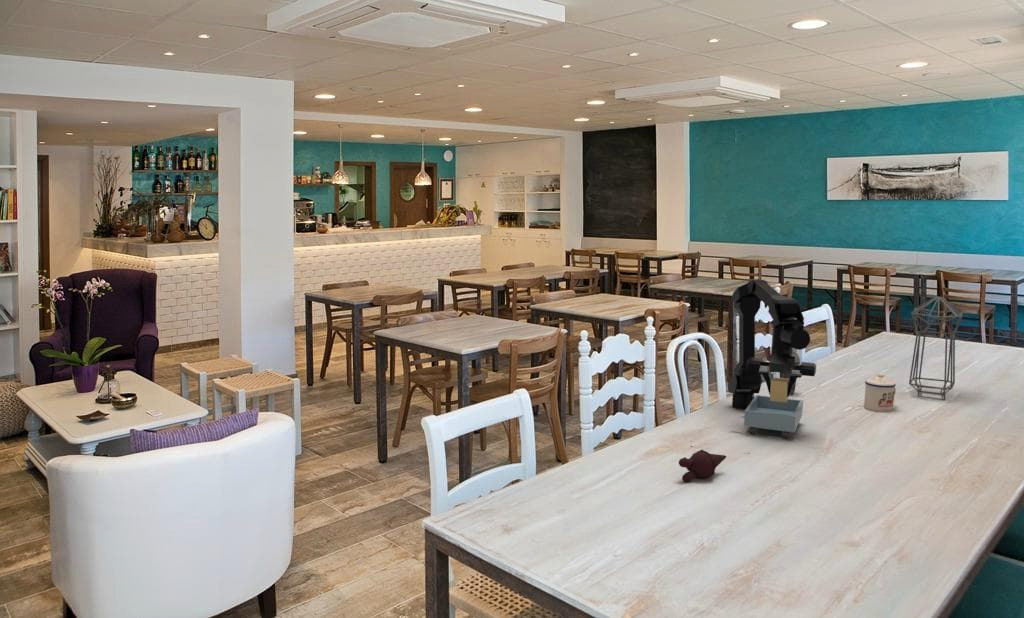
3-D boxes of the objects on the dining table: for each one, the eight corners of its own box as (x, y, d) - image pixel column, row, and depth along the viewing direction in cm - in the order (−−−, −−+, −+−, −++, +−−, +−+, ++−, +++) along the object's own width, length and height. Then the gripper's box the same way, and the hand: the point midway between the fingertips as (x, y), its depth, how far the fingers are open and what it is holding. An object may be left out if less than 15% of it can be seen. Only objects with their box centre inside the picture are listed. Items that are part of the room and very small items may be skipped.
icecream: (712, 442, 202) (668, 456, 195) (733, 442, 196) (688, 458, 188) (717, 469, 202) (673, 484, 195) (739, 470, 196) (694, 486, 188)
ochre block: (769, 400, 229) (770, 380, 228) (771, 397, 233) (773, 377, 232) (786, 402, 227) (787, 382, 226) (787, 398, 231) (789, 378, 230)
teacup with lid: (881, 413, 253) (883, 378, 251) (856, 406, 261) (859, 372, 259) (905, 409, 259) (908, 374, 257) (881, 402, 267) (883, 368, 265)
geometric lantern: (954, 404, 265) (964, 300, 260) (902, 397, 273) (910, 297, 268) (957, 394, 278) (966, 295, 273) (907, 388, 286) (915, 292, 281)
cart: (743, 434, 226) (744, 410, 225) (754, 416, 243) (756, 395, 242) (793, 440, 220) (795, 416, 219) (801, 422, 237) (803, 400, 236)
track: (723, 437, 227) (723, 432, 227) (737, 418, 247) (737, 414, 247) (796, 447, 219) (797, 442, 218) (805, 426, 238) (805, 422, 238)
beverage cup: (799, 397, 273) (803, 340, 270) (777, 395, 274) (780, 339, 272) (796, 392, 280) (800, 336, 277) (775, 390, 282) (778, 335, 279)
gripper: (744, 344, 224) (741, 398, 227) (814, 350, 216) (810, 406, 219) (750, 338, 234) (747, 389, 237) (818, 343, 226) (814, 396, 229)
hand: (779, 395), depth 230 cm, fingers closed on ochre block, 4 cm apart
